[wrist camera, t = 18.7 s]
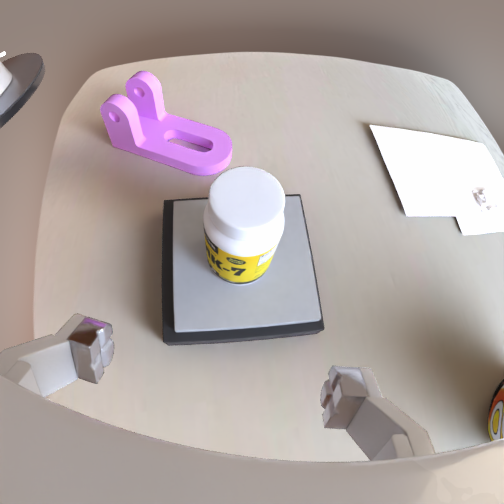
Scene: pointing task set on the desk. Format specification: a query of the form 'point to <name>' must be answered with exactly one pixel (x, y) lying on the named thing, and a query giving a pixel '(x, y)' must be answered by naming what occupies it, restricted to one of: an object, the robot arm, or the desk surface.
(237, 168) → the supplement bottle
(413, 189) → the paper
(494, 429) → the beverage can
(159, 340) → the desk surface
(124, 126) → the bracket
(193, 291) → the scale
